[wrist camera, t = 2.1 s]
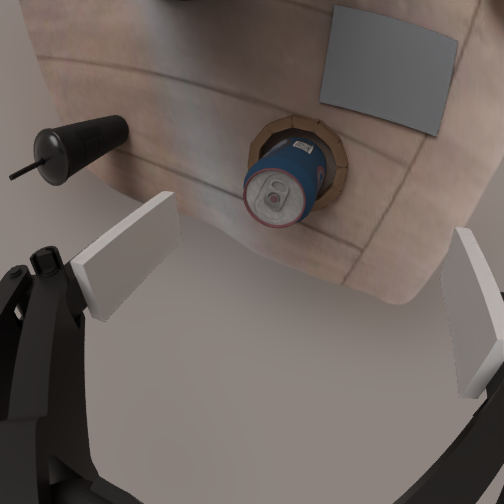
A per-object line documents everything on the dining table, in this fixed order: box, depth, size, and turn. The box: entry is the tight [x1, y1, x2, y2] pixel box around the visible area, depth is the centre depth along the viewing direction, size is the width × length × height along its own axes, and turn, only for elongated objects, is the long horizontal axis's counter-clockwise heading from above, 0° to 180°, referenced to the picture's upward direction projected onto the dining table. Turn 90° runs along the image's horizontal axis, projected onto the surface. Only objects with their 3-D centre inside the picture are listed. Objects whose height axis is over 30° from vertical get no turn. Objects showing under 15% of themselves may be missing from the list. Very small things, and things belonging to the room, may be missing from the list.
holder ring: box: [248, 115, 348, 212], centre depth 37 cm, size 12×12×2 cm
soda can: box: [243, 137, 326, 228], centre depth 33 cm, size 7×7×12 cm
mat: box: [319, 5, 458, 137], centre depth 28 cm, size 14×12×1 cm
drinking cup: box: [9, 115, 128, 186], centre depth 36 cm, size 8×8×20 cm
